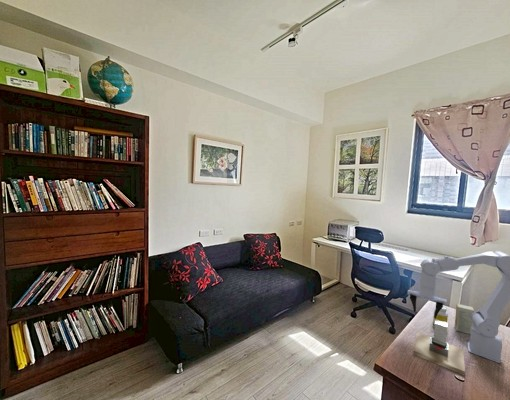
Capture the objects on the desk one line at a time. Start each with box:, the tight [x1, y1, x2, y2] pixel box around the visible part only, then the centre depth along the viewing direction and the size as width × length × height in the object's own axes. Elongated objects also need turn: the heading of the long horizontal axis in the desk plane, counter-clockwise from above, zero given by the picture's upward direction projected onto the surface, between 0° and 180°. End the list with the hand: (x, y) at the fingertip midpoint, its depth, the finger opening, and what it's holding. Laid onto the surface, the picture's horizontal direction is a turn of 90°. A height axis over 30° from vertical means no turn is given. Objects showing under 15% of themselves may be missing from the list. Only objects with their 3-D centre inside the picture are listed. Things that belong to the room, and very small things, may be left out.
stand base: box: [412, 332, 466, 376], centre depth 97 cm, size 16×16×2 cm
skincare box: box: [454, 303, 476, 335], centre depth 114 cm, size 6×4×12 cm
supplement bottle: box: [432, 305, 449, 326], centre depth 117 cm, size 5×5×10 cm
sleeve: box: [429, 336, 449, 357], centre depth 97 cm, size 6×7×3 cm
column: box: [432, 319, 448, 346], centre depth 97 cm, size 4×4×8 cm
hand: (424, 314), depth 108 cm, fingers open, 7 cm apart
